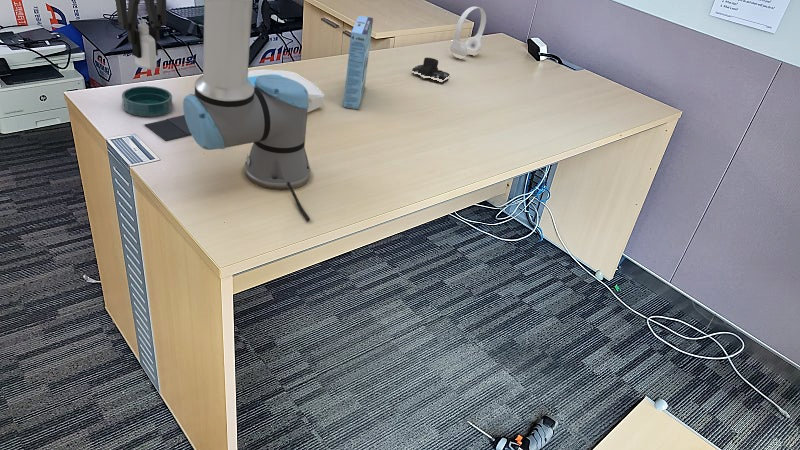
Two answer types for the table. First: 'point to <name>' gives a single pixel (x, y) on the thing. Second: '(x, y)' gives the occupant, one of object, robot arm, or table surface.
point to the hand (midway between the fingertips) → (145, 54)
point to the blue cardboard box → (357, 61)
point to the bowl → (147, 101)
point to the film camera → (430, 70)
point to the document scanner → (313, 91)
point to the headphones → (472, 42)
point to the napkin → (170, 128)
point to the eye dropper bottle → (146, 48)
